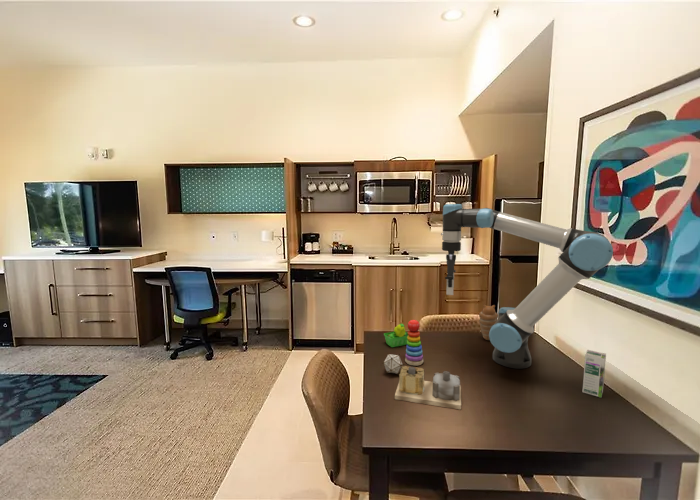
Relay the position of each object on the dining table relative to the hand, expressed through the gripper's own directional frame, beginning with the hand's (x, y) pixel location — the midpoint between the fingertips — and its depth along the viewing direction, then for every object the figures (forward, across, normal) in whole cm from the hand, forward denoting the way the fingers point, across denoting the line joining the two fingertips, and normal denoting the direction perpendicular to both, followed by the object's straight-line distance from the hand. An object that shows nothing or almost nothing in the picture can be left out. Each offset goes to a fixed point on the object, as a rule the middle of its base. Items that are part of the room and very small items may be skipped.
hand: (450, 290), depth 146 cm
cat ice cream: (+31, -28, +18) cm, 45 cm away
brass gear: (+29, +31, -12) cm, 44 cm away
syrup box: (+31, +13, +50) cm, 60 cm away
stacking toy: (+31, +7, -14) cm, 35 cm away
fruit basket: (+31, -10, -24) cm, 40 cm away
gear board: (+31, +31, -6) cm, 44 cm away
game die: (+31, +19, -21) cm, 42 cm away
